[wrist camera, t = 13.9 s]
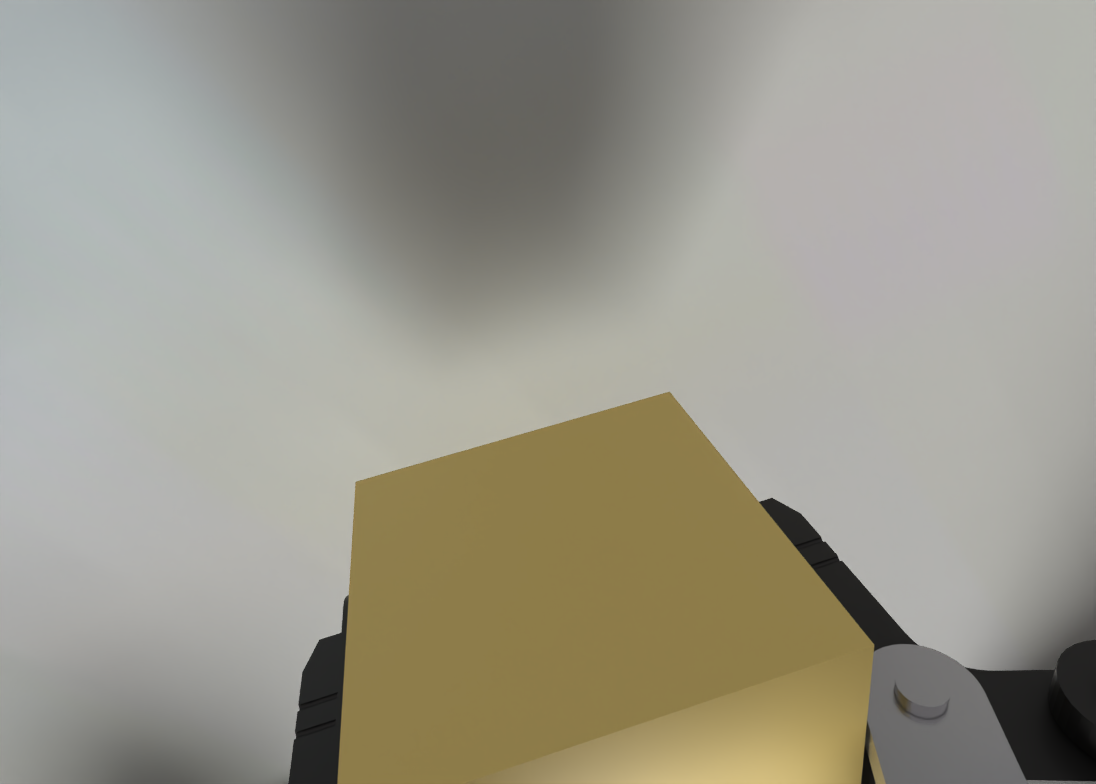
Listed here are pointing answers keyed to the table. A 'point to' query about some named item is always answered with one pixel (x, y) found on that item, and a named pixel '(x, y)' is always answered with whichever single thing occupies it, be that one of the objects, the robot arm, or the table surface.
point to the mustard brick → (592, 620)
